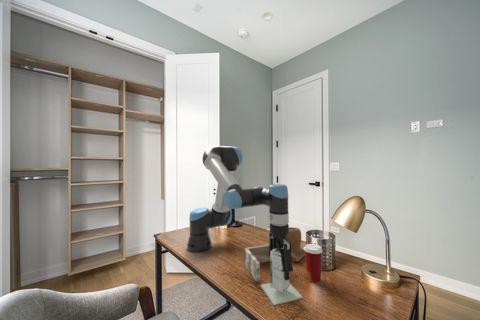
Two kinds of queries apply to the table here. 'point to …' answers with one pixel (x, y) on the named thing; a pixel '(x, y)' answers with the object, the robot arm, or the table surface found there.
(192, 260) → the table surface
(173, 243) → the table surface
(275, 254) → the syrup box
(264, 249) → the cubby
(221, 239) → the table surface
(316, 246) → the paper cup
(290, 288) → the mat
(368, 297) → the table surface
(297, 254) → the brown boot
